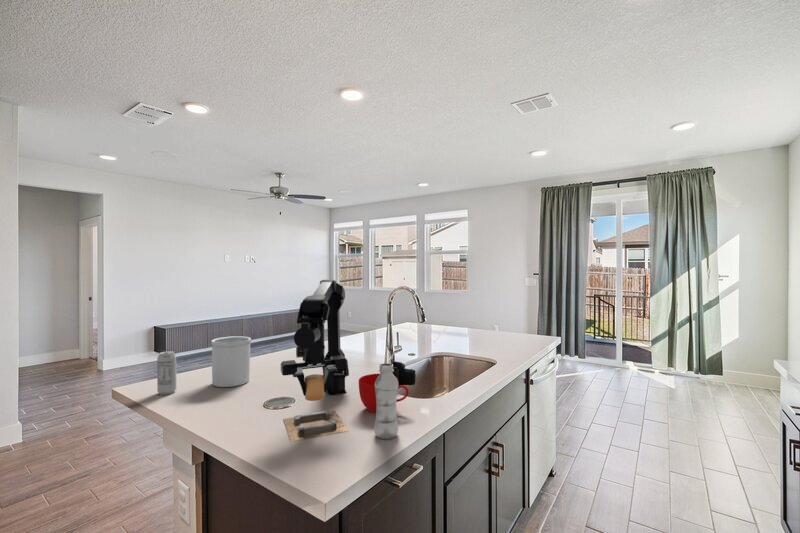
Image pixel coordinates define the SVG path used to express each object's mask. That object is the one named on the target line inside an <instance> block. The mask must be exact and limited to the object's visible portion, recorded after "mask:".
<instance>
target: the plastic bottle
mask: <svg viewBox="0 0 800 533" xmlns="http://www.w3.org/2000/svg"><path fill="white" fill-rule="evenodd" d="M378 371H379V372H378V373H379V374H380V375H379V376H378V377H377V379H376V381H375V392H376V403H377V410H376V413H375V422H374V425H373V430H374V434H375V436H376V437H377V438H378V439H380V438H381V439H380V440H391V439H390V438H392V439H394V438H395V437H397V435H398V433H399V420H398V417H397V416H398V415H397V402H396V401H397V399H398V398H397V397H398V391H399V389H398V380H397V379H396V377H395V376H394V374H393V373H392V372H393V364H392V362H391V363H390V362H386V363H385V362H384V363H380V364H379V370H378ZM393 437H394V438H393Z"/></svg>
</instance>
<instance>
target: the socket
mask: <svg viewBox="0 0 800 533" xmlns="http://www.w3.org/2000/svg"><path fill="white" fill-rule="evenodd" d="M283 422H284V426H285V429H286V433H287V436H288V438H289V442H290V443H292V442H297V441H303V440H308V439H315V438H318V437H319V438H320V437H323V436H329V435H335V434H340V433H341V434H342V433H346V431H347V432H349V429H348V427H347V426H346V425H345V423H344V422H343V420H342V418H341V417H340V416H339V414H338V413H337V412H336V410H331V411H329V410H323V411H317V412H309V413H305V414H304V413H303V414H298V415H294V416H292V417H287V418H283Z"/></svg>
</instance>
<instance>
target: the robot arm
mask: <svg viewBox="0 0 800 533" xmlns="http://www.w3.org/2000/svg"><path fill="white" fill-rule="evenodd" d="M345 298H346V291H345V289H344V286H343V285H341V284H340V283H338V282H336V280H334V279H322V280H320V281H319V285H318V287H317V288H316V290H315V291H314V292H313V294H311V295H308V296H306V297H305V298H303V300H302V302H300V306H299V309H298V313H297V314H298V315H297V319H296V324H300V328H299V329H297V330H296V331H295V333H294V336H293V341H294V344H295V345H296V347H295V348H296V349H295V353H296V355H295V356H296V358H298V359H299V358H302V361H303V362H297V361H296V359H292V360H291V359H290V360H283V361H281V363H280V373H281V375H282V376H292V377H293V378H297V380H298V383H299V386H300V388H301V390H302V394H303V396H304V397H305V395H306V389H305V373H304V372H303V371H304V370H309V369H316V368H322V375H324V394H326V393H327V394H328V395H329V396H336V395H342V394H347V390H346V378H347V377H349V376H350V370H349V364H348V359H347V358H346V355H345V353H344V351H343V350H342V348H341V328H340V327H341V324H340V323H341V322H340V321H341V320H340V319H341V318H340V310H341V308H342V307H343V304H344V302H345ZM326 321H327V322H326ZM325 323H326V325H327V326H326V327H327V328H326V329H327V352H326V354H325V348H326V346H325Z"/></svg>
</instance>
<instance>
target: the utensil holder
mask: <svg viewBox="0 0 800 533" xmlns="http://www.w3.org/2000/svg"><path fill="white" fill-rule="evenodd" d="M251 342H252V338H251V337H249V336H243V335H242V336H239V335H238V336H237V335H234V336H225V337H224V336H223V337H217V338H214V339H212V340H211V341H210V343H211V377H212V379H211V380H212V382H211V383H212V385H213V386H214V387H216V388H217V387H218V388H231V387H232V388H233V387H239V386H241V385H244V384H246V383H248V382H249V381H250V370H251V369H250V368H251Z"/></svg>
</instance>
